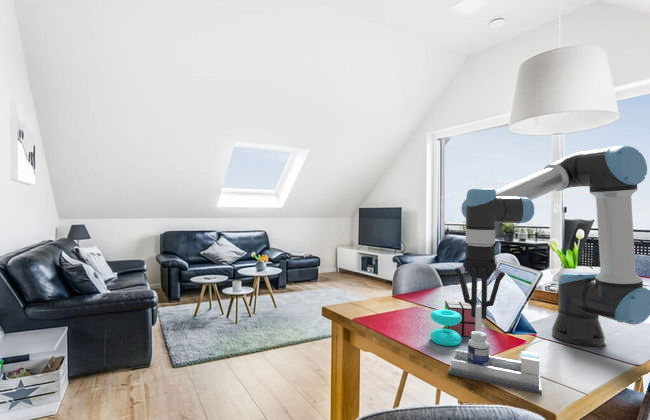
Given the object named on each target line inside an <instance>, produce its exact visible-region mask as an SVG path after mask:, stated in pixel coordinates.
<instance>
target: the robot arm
mask: <svg viewBox="0 0 650 420" xmlns="http://www.w3.org/2000/svg"><path fill="white" fill-rule="evenodd" d="M647 173H648V165H647V161H646V159H645V157H644V155H643V154H642V152H640V151H639V150H638V149H637V148H635V147H633V146H631V145H620V146H610V147H606V148H605V147H604V148H599V149H592V150H585V151H579V152H575V153H573V154H570V155H568V156H565V157H564V158H563V157H562V158H561V159H558V160H556V161H554V162H552V163H550V164H547V165H545V167H544V168H543V170H541V171H538V172H535V173H533V174H530V175H529V176H526V177H523V178H521V179H519V180H516V181H514V182H511V183H509V184H507V185H504V186H502V187H500V188H497V189H494V188H471V189H468V191H467V192H466V199H464V200H463V201H462V204H461V214H462V216H463V217H464V218H465V244H466V245H465V256H464V261H463V265H460V266H459V267H456V268H455V269H454V272H455V274H456V275H457V276H458V279H459V283H460V287H461V288H460V289H461V292H462V296H463V302H465V303H468V304H470V305H471V316H472V317H474V318H475V331H480V332H482V330H483V320H486V319H487V313H488V311H487V310H488V309H487V308H489V307H493V306H494V304H495V301H496V296H497V294H498V290H499V287H500V283H501V281H502V279H503V278H504V277H505V275H506V272H505V271H504V270H501V269H500V268H498V266H497V264H496V260H495V259H496V247H495V246H494V245H495V244H496V224H524V223H529V222H530V221H531V220H532V219H533V218H534V215H535V204H534V202H533V201H532V200H534V199H538V198H540V197H541V196H544V195H546V194H549V193H551V192H553V191H556V192H560V191H563V190H565V189H571V188H578V187H589V193H590V194H591V195H592V196H594V197H595V199H596V200H595V201H596V203H595V204H596V219H597V221H596V222H597V229H598V230H597V236H598V253H599V254H598V255H599V266H600V271H599V273H596V272H563V273H561V274H560V275H559V277H558V278H559V279H558V284H557V285H558V286H557V287H558V298H557V300H558V308H557V309H558V310H557V315H556V318H555V321H554V323H553V325H552V328H551V329H552V330H551V331H552V332H551V334H552V335H551V336H553V338H556V339H558V340H559V341H562V342H565V343H568V344H572V345H576V346H577V345H578V346H584V347H601V346H605V341H606V340H605V339H606V338H605V334H604V331H603V329H602V325H601V323H600V319H599V318H600V317H603V318H607V319H610V320H613V321H616V322H617V323H624V324H628V325H634V326H635V325H639V324H642V323H643V322H645V321H646V320H648V318H649V317H650V289H648V288H646V287H644V284H643V282H644V281H643V278H642V277H641V276H639V275H638V274H637V273H636V259H635V257H636V256H635V243H634V242H635V241H634V223H633V222H634V221H633V208H632V207H633V205H632V196H633V194H634V193H635V192H637V191H638V185H639V184H641V183H642V182H644V180H645V179H646V176H647ZM466 272H467V273H468V275H469V276H470V277H471V290H470V291H471V297H470V293H469V289H468V285H467V280H466V276H465V273H466ZM493 273H495V274H494V276H495V277H496V278H495V280H494V283H493V288H492V291H491V294H490V298H489V300H488V278H490V276H492V274H493ZM478 279H481V300H480V301H481V305H480V304H477V303H478ZM599 316H600V317H599Z"/></svg>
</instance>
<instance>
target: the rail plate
mask: <svg viewBox="0 0 650 420" xmlns="http://www.w3.org/2000/svg"><path fill="white" fill-rule="evenodd" d="M447 373H448V375H451V376H455V377H459V378H460V377H461V378H466V379H469V380H473V381H474V380H475V381H479V382H483V383H488V384H492V385H495V386H496V385H497V386H502V387H506V388H510V387H511V389H516V390H520V391H524V392H528V393H529V392H530V393H534V394H538V395H542V394H543V393H542V392H543V391H542V389H543V388H542V382H541V372H540V371H539V376H537V375H532V374H527V373H522V372H521V360H515V359H509V358H504V357H499V356H493V355H489V366H486V365H481V364H476V363H471V362H468V350H467V351H466V350H461V349H455V352H454V356H453V358H451V360H450V366H449V368H448V371H447Z"/></svg>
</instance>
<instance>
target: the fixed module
mask: <svg viewBox="0 0 650 420" xmlns="http://www.w3.org/2000/svg"><path fill="white" fill-rule="evenodd" d="M520 352H521V353H520V361H521V372H522V373H527V374H532V375H537V376H539V372H540V355H539V353H537V352H531V351H525V350H521V351H520Z"/></svg>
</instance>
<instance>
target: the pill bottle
mask: <svg viewBox="0 0 650 420" xmlns="http://www.w3.org/2000/svg"><path fill="white" fill-rule="evenodd" d="M487 336H488V335H487V333H486V332H483V331H472V332H471V337H470V339H469V340H468V342H467V352H468V362H471V363H476V364H481V365H486V366H489V356H490V343H489V342H488V341H487V339H488V337H487Z"/></svg>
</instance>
